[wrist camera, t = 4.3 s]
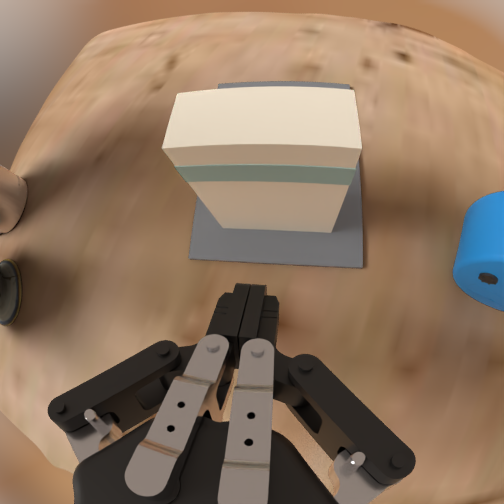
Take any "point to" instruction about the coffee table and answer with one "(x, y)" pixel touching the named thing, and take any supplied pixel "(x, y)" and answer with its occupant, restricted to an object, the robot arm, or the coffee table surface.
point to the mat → (278, 241)
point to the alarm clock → (482, 252)
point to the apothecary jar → (9, 291)
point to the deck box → (267, 154)
